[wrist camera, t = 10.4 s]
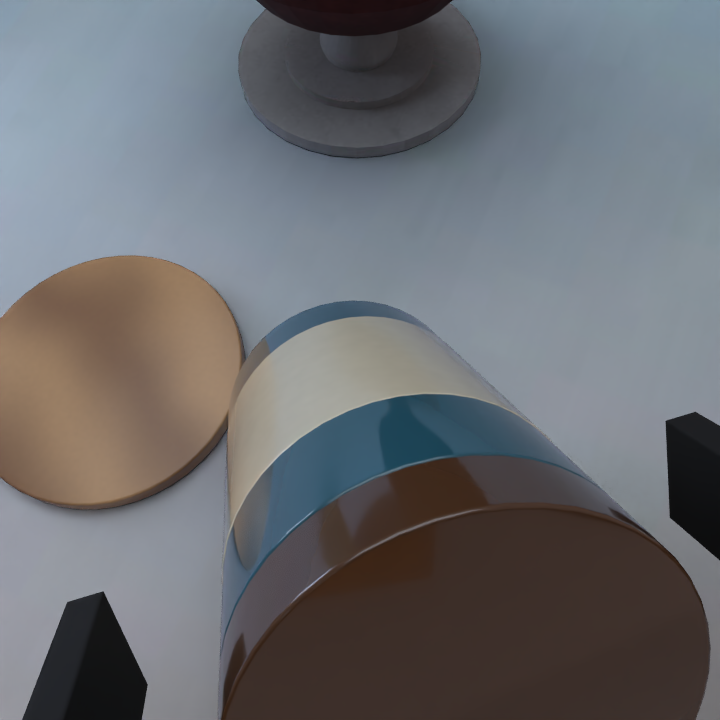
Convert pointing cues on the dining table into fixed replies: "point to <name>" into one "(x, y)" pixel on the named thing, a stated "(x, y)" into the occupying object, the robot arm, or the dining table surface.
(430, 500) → the jar
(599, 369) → the dining table surface
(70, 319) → the coaster
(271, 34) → the mate gourd
